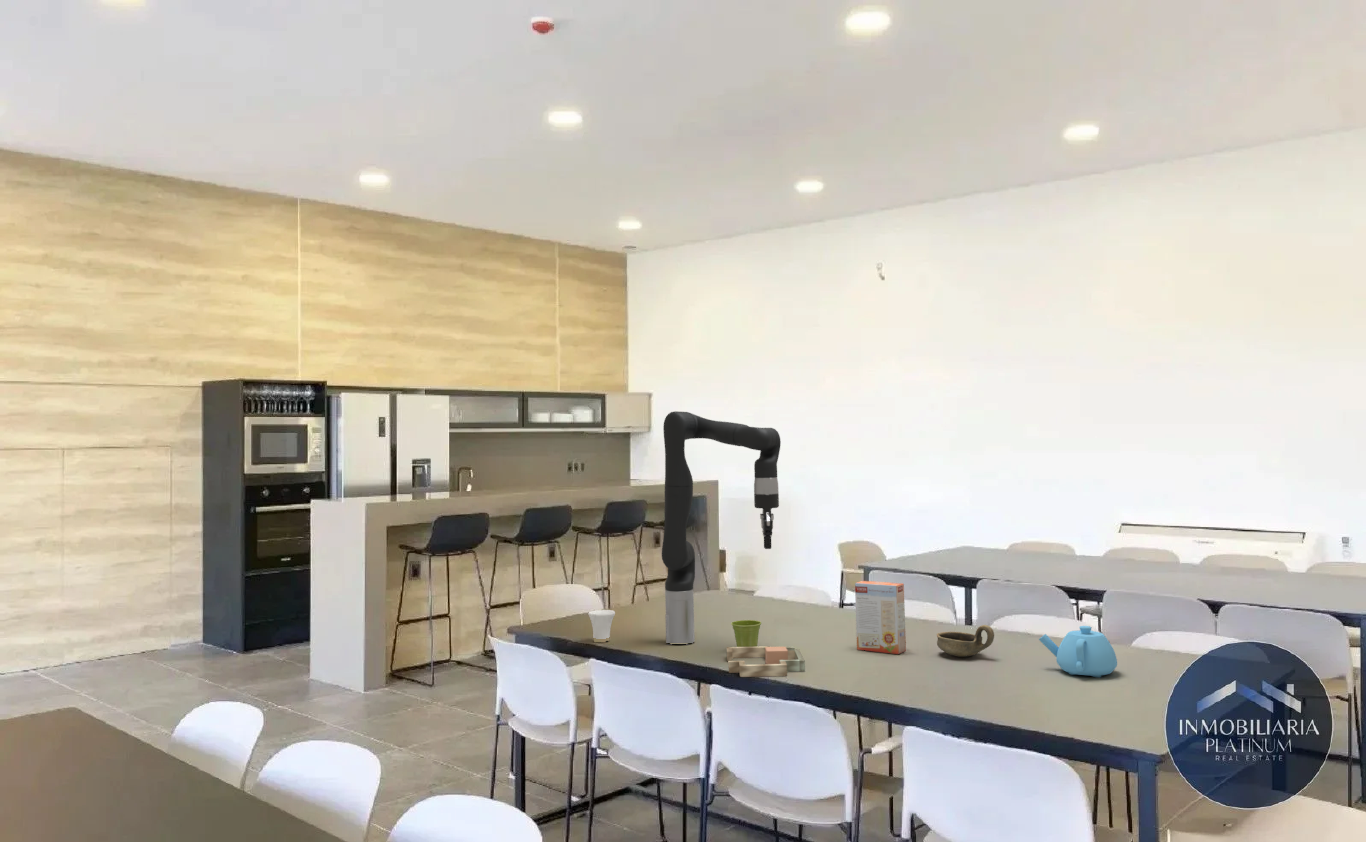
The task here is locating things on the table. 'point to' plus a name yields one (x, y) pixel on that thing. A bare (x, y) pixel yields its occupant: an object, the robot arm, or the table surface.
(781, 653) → the block
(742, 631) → the plant pot
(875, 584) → the cracker box
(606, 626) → the cup
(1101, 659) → the teapot
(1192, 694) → the table surface
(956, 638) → the bowl
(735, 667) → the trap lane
